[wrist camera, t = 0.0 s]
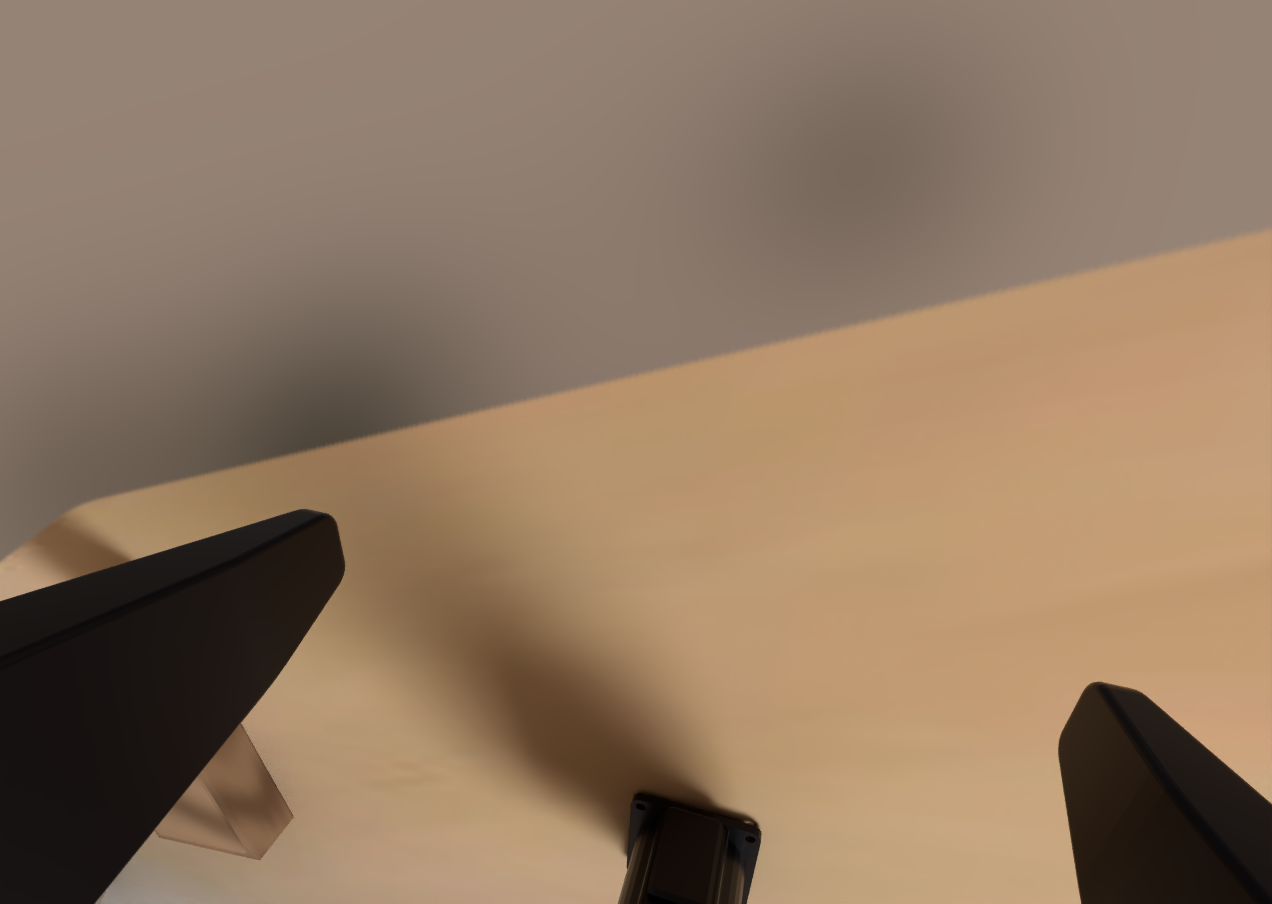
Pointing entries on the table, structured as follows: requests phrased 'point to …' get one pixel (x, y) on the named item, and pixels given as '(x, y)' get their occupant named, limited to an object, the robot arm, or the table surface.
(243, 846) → the square wooden block
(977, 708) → the table surface
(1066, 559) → the table surface
